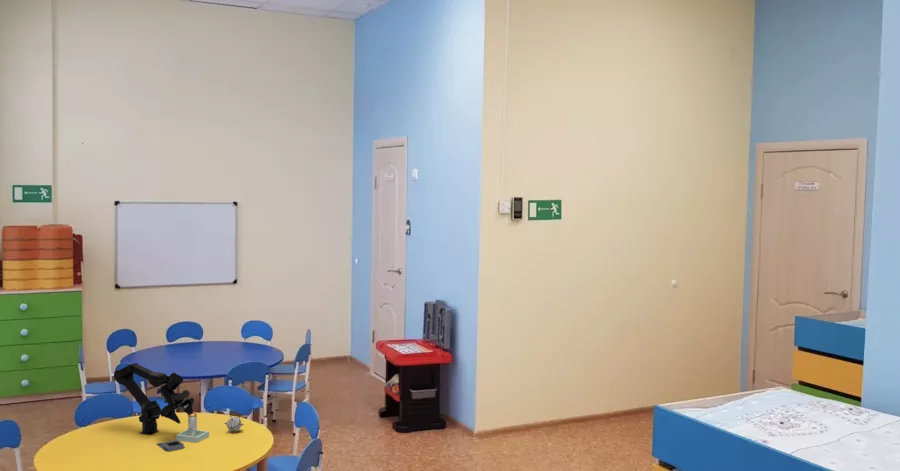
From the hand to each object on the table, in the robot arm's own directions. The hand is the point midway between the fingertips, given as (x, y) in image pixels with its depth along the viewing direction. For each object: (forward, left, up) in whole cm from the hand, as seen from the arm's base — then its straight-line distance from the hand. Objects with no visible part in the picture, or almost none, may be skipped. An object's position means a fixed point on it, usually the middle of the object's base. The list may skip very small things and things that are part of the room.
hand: (186, 420), depth 374 cm
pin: (+4, -1, -8) cm, 9 cm away
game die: (+16, +17, -10) cm, 25 cm away
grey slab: (0, -13, -9) cm, 16 cm away
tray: (+4, -1, -9) cm, 10 cm away
